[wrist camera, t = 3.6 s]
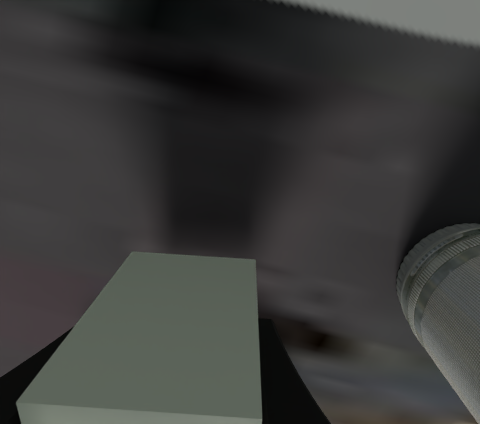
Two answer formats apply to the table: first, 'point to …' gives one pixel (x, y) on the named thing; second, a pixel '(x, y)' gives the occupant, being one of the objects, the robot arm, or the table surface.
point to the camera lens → (447, 305)
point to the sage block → (158, 349)
